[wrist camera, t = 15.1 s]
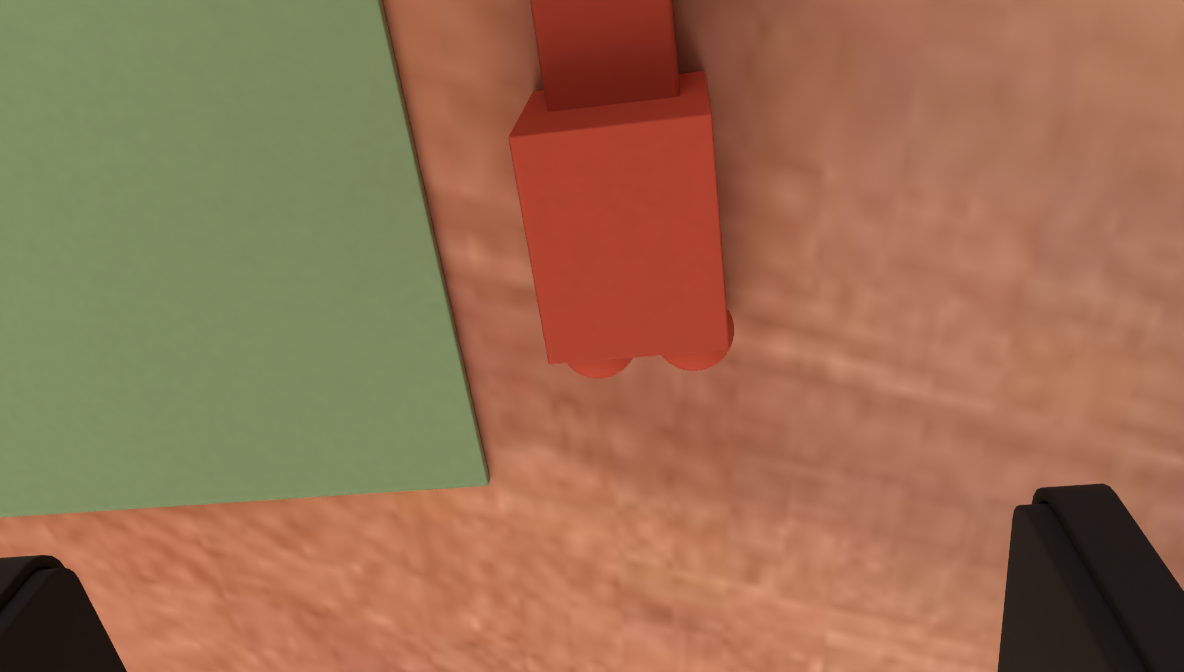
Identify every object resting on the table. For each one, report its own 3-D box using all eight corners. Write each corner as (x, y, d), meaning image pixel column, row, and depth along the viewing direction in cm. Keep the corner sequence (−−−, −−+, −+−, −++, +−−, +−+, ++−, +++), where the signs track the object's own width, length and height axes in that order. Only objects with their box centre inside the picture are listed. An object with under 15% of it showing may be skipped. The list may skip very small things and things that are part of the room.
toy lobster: (504, -27, 21) (472, -1, 17) (704, -54, 20) (712, -33, 17) (568, 357, 25) (552, 436, 22) (734, 343, 24) (744, 423, 21)
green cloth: (-422, 34, 23) (-434, 37, 23) (364, -81, 20) (360, -80, 20) (-125, 520, 30) (-132, 526, 29) (490, 480, 27) (488, 486, 27)
